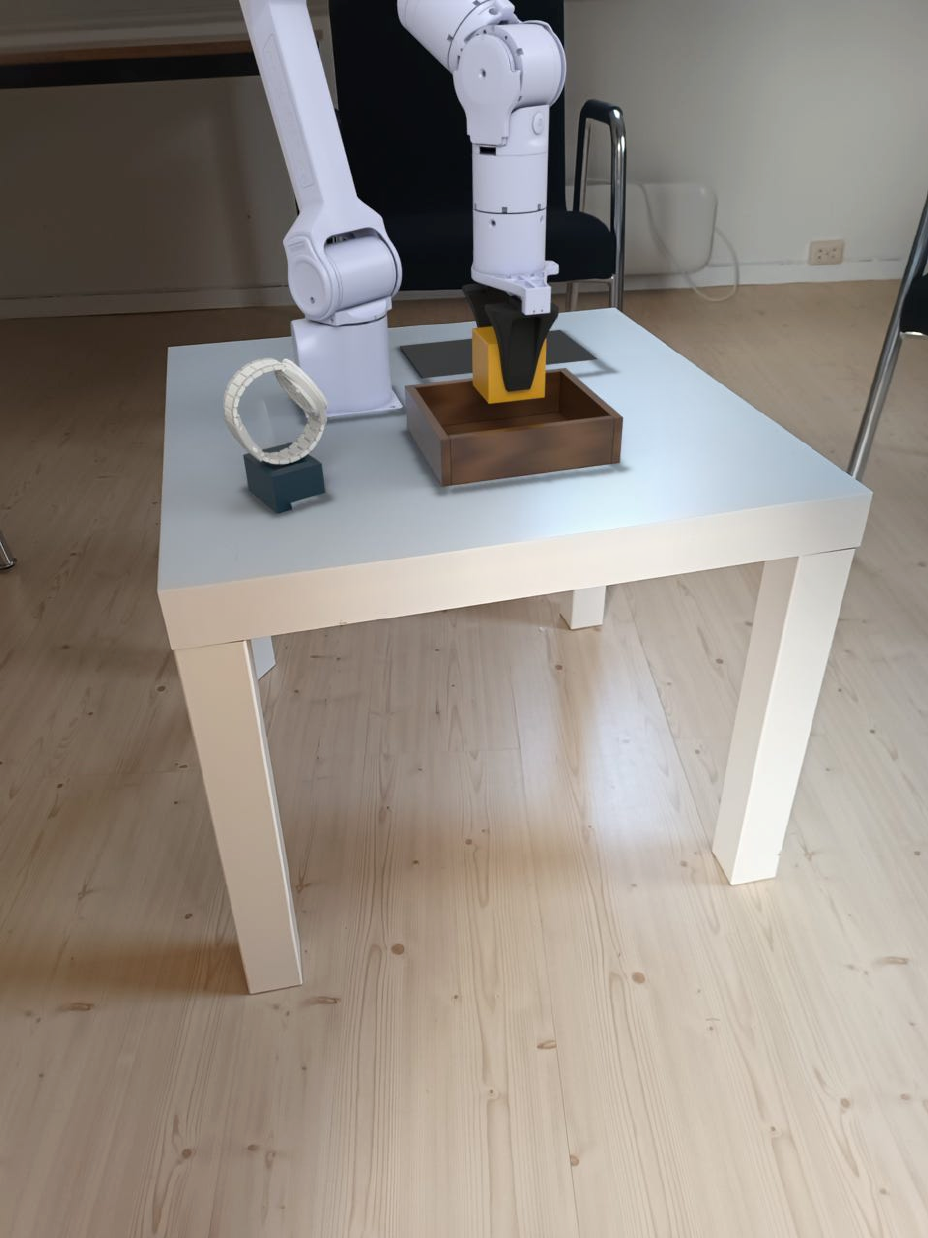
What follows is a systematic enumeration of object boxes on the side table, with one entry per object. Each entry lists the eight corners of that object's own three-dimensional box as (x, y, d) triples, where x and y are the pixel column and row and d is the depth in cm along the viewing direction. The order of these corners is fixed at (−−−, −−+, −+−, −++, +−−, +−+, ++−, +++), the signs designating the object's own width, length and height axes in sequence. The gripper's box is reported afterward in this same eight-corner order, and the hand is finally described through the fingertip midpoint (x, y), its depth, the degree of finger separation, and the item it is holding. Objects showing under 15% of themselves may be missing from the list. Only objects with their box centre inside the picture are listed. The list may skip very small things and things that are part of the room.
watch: (347, 492, 76) (333, 360, 70) (256, 519, 72) (234, 382, 66) (315, 470, 80) (300, 343, 74) (228, 494, 76) (205, 362, 70)
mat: (431, 392, 96) (431, 389, 95) (400, 348, 109) (399, 345, 108) (611, 371, 100) (611, 369, 100) (560, 331, 113) (560, 329, 113)
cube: (488, 404, 77) (488, 344, 74) (472, 385, 81) (471, 327, 78) (545, 397, 78) (546, 338, 75) (526, 379, 82) (527, 322, 79)
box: (442, 493, 75) (440, 439, 73) (407, 433, 86) (404, 385, 84) (619, 468, 79) (623, 417, 76) (563, 414, 90) (565, 367, 87)
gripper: (592, 220, 66) (582, 401, 74) (528, 190, 78) (525, 349, 86) (499, 227, 65) (498, 411, 72) (448, 195, 77) (452, 357, 84)
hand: (508, 378), depth 79 cm, fingers closed on cube, 5 cm apart
